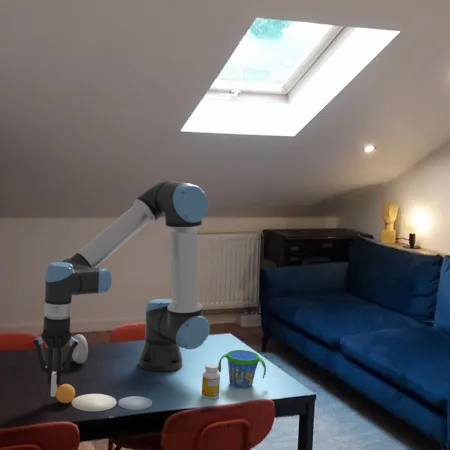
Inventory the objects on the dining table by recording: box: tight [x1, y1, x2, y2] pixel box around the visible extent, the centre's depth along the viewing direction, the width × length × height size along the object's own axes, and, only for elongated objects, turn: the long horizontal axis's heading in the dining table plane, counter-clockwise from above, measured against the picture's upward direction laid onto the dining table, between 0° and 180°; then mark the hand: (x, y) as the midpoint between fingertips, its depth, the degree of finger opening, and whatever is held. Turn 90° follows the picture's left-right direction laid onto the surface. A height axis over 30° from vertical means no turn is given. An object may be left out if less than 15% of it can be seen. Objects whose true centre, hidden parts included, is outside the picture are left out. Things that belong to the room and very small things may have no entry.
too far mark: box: [117, 395, 153, 411], centre depth 204 cm, size 10×10×1 cm
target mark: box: [71, 393, 118, 412], centre depth 203 cm, size 13×13×1 cm
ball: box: [55, 383, 76, 404], centre depth 201 cm, size 6×6×6 cm
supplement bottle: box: [201, 363, 221, 400], centre depth 213 cm, size 5×5×10 cm
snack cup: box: [217, 349, 267, 389], centre depth 224 cm, size 16×10×10 cm
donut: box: [71, 333, 89, 365], centre depth 236 cm, size 10×4×10 cm, turn 34°
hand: (53, 394), depth 201 cm, fingers closed
